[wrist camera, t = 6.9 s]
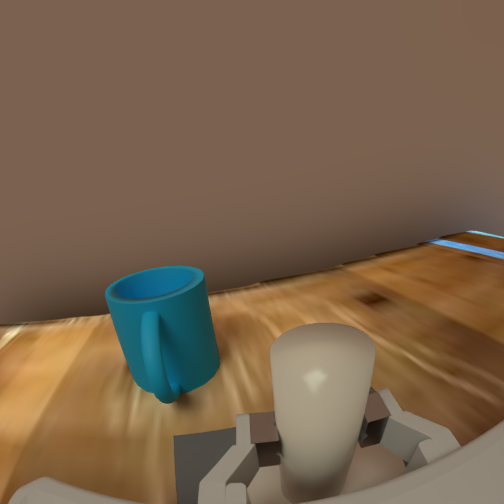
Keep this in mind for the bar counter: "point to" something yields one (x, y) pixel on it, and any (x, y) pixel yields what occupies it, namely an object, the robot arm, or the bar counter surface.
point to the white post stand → (322, 417)
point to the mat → (201, 459)
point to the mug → (165, 329)
